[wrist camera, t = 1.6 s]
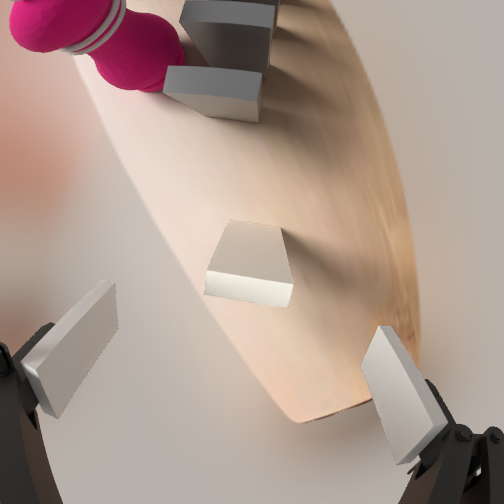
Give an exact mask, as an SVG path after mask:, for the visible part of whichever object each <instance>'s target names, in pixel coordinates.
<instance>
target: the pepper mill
mask: <svg viewBox="0 0 504 504" xmlns="http://www.w3.org/2000/svg"><path fill="white" fill-rule="evenodd" d="M11 1H15V2H14V5H13V7H12V10H11V14H10V31H11V34H12V36H13V38H14V39H15V41H16V42H17V43H18V44H19V45H20V46H22V47H24V48H26V49H28V50H30V51H33V52H42V53H45V52H51V51H54V50H59V51H62V52H66V53H68V54H70V55H82V54H85V53H86V54H88V55H89V56H91V58H92V59H93V60H94V61H95V64H96V67H97V70H98V72H99V73H100V75H101V76H102V77H103V78H104V79H105V80H106V81H107V82H108V83H110V84H112V85H114V86H115V87H117V88H120V89H124V90H140V91H143V92H155V91H159V90H161V89H163V87H164V82H165V77H166V73H167V68H168V66H184V64H185V52H184V49H183V47H182V46H181V44H180V42H179V37H178V34H177V32H176V30H175V28H174V27H173V26H172V25H171V24H170V23H169V22H168V21H166V20H165V19H163V18H161V17H160V16H157V15H154V14H150V13H138V12H134V11H131V10H129V9H127V8H126V0H11Z"/></svg>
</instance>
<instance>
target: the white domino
mask: <svg viewBox="0 0 504 504" xmlns="http://www.w3.org/2000/svg"><path fill="white" fill-rule="evenodd" d="M293 285H294V284H293V279H292V275H291V271H290V266H289V262H288V258H287V253H286V249H285V245H284V241H283V237H282V232H281V228H279V227H273V226H268V225H262V224H256V223H250V222H244V221H238V220H232V219H229V220H228V222H227V225H226V227H225V229H224V231H223V234H222V236H221V238H220V240H219V243H218V245H217V247H216V250H215V252H214V254H213V257H212V259H211V261H210V264H209V266H208V268H207V272H206V281H205V291H204V295H210V296H216V297H221V298H227V299H233V300H239V301H245V302H252V303H258V304H264V305H271V306H278V307H285V308H288V304H289V300H290V296H291V293H292V289H293Z"/></svg>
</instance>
